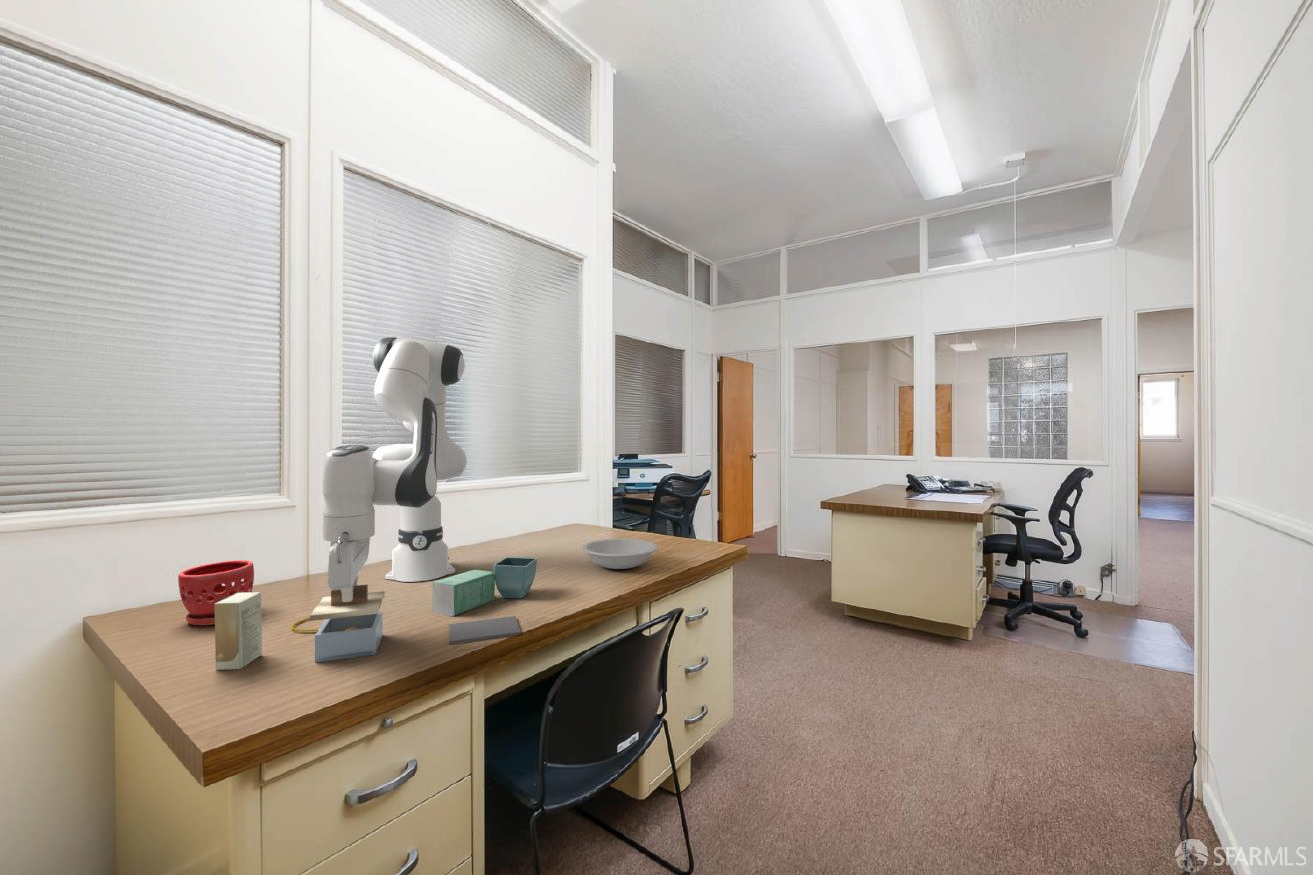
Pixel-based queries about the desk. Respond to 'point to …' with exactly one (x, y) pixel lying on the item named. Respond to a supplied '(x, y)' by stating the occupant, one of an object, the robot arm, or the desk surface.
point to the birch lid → (348, 604)
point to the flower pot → (514, 576)
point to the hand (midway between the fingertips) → (349, 597)
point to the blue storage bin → (348, 637)
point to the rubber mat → (483, 629)
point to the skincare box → (238, 630)
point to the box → (463, 592)
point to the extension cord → (300, 629)
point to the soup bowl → (619, 552)
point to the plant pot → (213, 587)
